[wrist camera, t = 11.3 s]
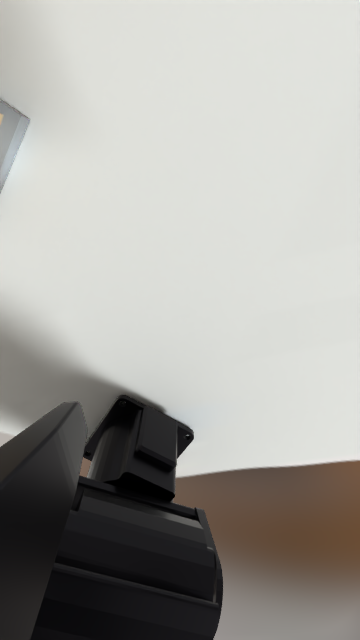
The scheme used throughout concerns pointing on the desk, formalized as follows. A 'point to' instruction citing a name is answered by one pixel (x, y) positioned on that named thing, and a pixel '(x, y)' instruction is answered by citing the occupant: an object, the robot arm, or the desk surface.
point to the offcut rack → (10, 137)
